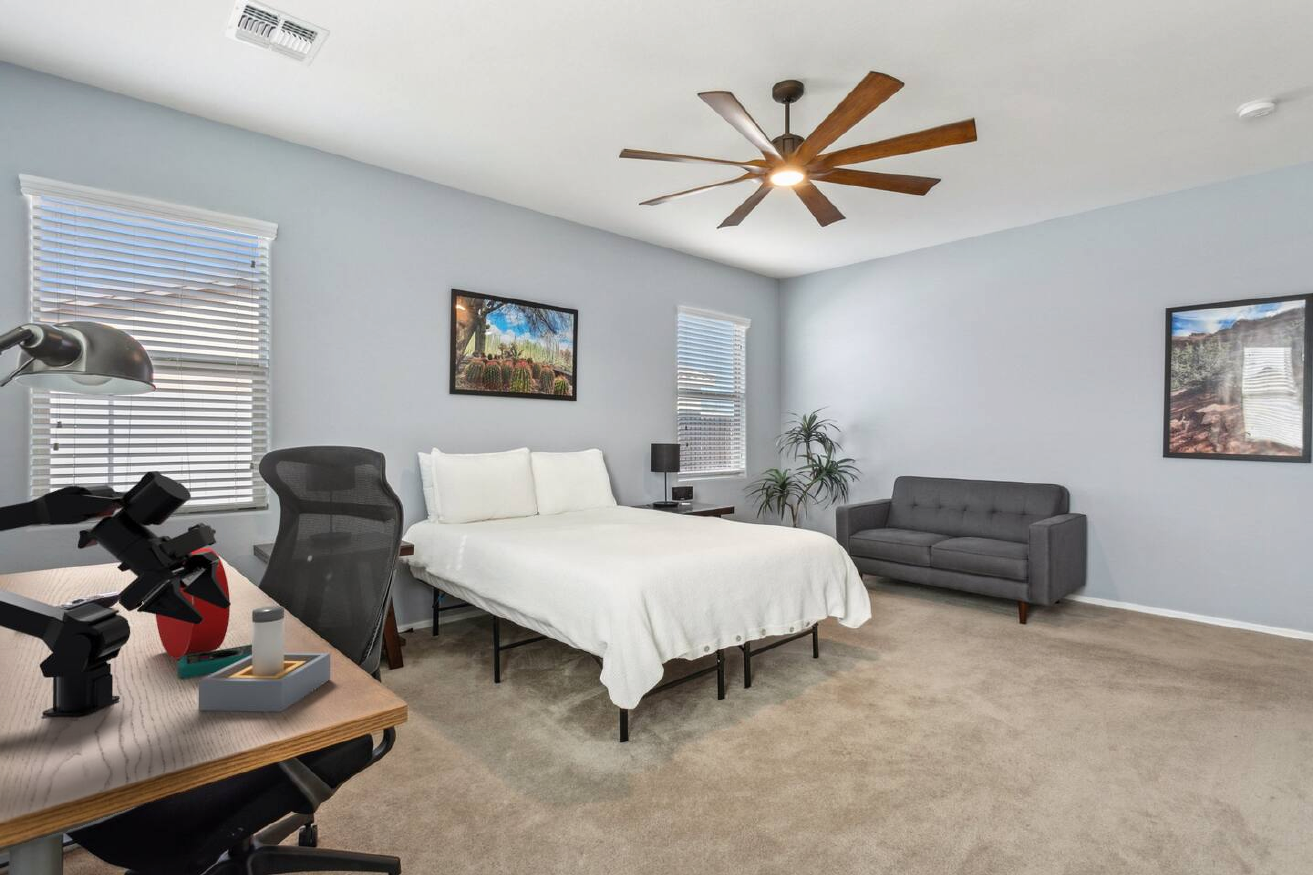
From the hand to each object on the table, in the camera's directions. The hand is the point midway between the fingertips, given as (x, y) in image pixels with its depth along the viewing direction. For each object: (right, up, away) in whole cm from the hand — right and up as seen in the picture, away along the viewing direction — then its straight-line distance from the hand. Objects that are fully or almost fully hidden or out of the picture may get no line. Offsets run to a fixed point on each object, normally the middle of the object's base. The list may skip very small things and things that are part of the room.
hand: (215, 613), depth 101 cm
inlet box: (+8, -13, +2) cm, 15 cm away
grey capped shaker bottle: (+8, -12, +1) cm, 14 cm away
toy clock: (-19, -14, +21) cm, 32 cm away
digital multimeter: (-8, -14, +15) cm, 22 cm away
